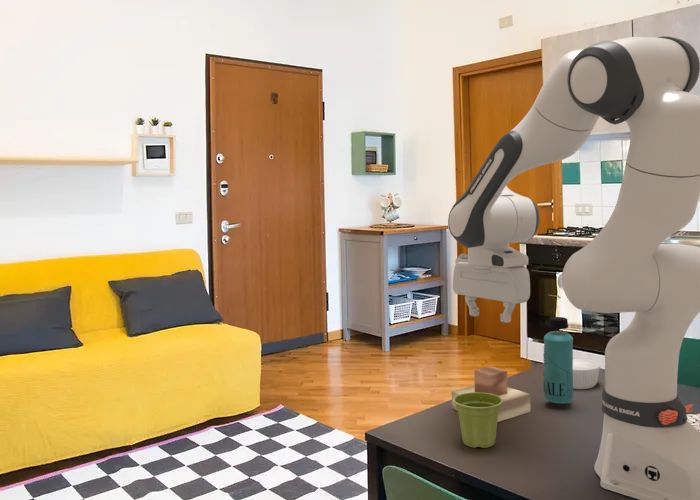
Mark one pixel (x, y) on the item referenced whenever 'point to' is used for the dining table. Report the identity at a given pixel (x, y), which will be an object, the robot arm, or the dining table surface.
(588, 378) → the ramekin
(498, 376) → the terracotta cube
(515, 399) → the birch base
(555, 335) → the beverage bottle
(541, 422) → the dining table surface
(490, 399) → the plant pot
